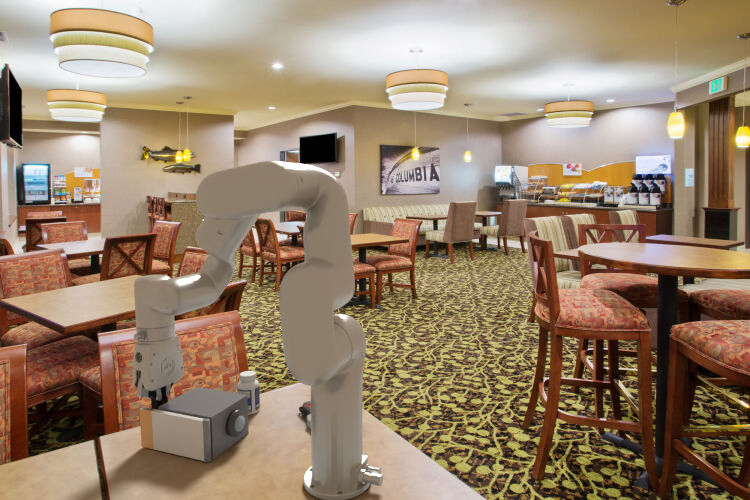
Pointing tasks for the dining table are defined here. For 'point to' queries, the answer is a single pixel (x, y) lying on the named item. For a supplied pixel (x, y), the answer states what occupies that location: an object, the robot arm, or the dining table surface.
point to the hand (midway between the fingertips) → (160, 414)
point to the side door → (176, 433)
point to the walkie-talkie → (306, 412)
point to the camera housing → (215, 414)
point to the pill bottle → (250, 390)
